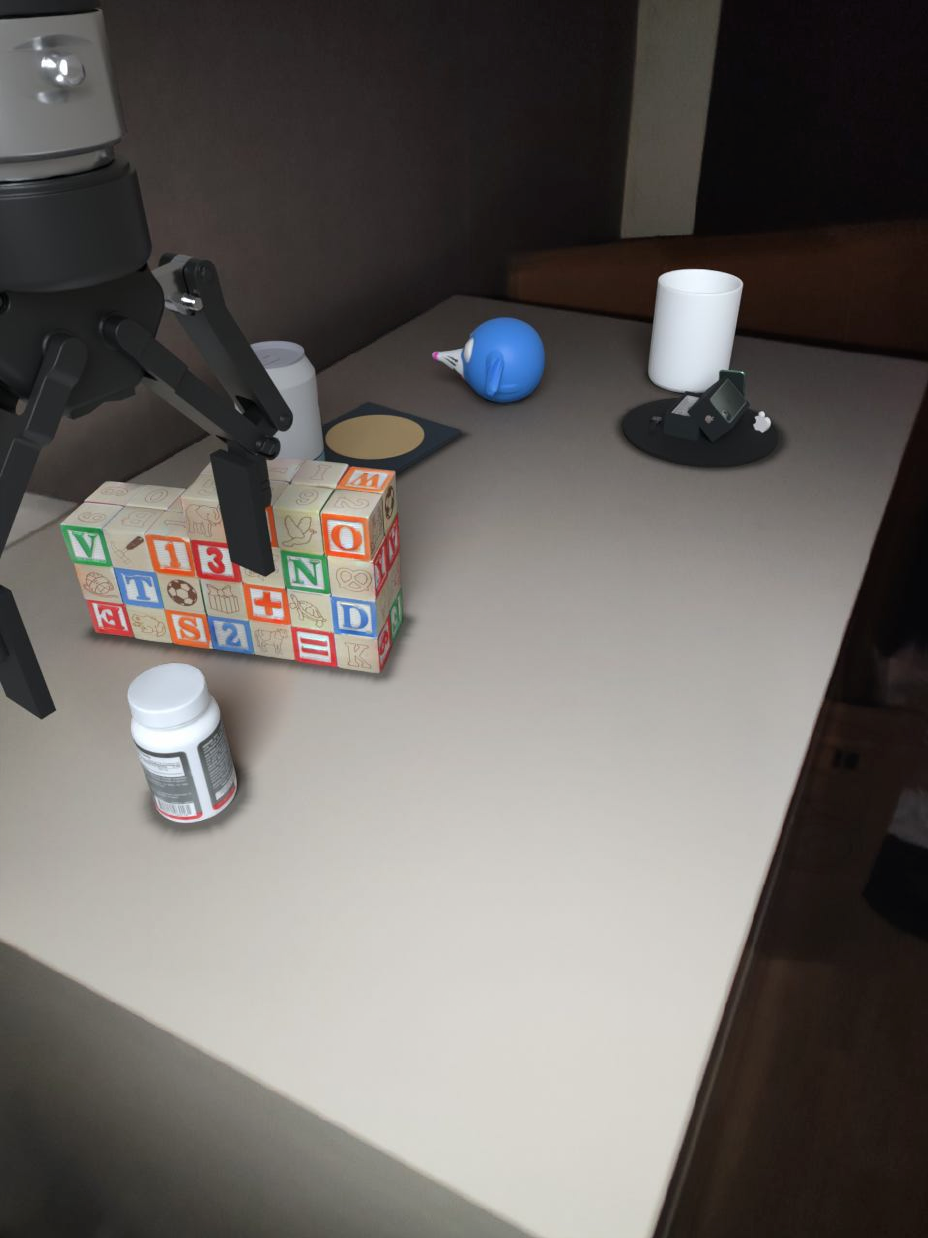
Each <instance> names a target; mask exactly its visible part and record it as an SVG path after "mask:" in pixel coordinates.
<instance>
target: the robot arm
mask: <svg viewBox="0 0 928 1238" xmlns="http://www.w3.org/2000/svg"><path fill="white" fill-rule="evenodd" d="M101 7H102V4H101V0H0V559H2V555H3V552H4V550H5V547H6V544H7V541H8V540H9V536H10V533H11V530H12V528H13V525H14V523H15V520H16V517H17V515H18V512H19V510H20V507H21V504H22V501H23V498H24V496H25V493H26V490H27V488H28V485H29V483H30V480H31V477H32V474H33V472H34V469H35V466H36V463H37V461H38V458H39V455H40V453H41V451H42V450H43V448H44V447H46V446H47V447H48V445H50V444H51V443H52V442H53V441H54V438H55V436H56V434H57V431H58V428H59V426H60V423H61V420H62V418H64V417H65V418H68V419H70V420H72V421H73V420H77V419H79V418H82V417H84V416H86V415H89V414H91V413H92V412H93V411H95V410H96V409H97V408H98V407H100V406H101V405H102V404H104V403H107V402H108V403H109V402H119V401H123V400H126V399H129V398H131V397H133V396H136V395H137V394H136V393H137V392H136V388H137V387H138V386H139V385H140V383H141V384H142V385H143V386H145V387H146V388H148V389H149V390H150V391H152V392H153V393H155V394H156V395H157V396H158V397H160V398H161V399H163V401H165V402H167V404H169V405H170V406H171V407H173V408H174V409H176V410H177V411H178V412H180V413H181V414H183V415H184V416H185V417H186V418H187V419H189V420H191V421H192V422H193V423H194V424H196V425H197V426H198V427H199V428H201V429H202V430H204V431H205V432H207V433H208V434H209V435H210V436H212V437H213V438H214V439H216V440H217V441H219V442H220V443H221V444H223V445H224V446H226V447H227V450H225V449H222V448H218V449H216V450H215V451H213V452H210V453H209V454H208V456H209V460H210V462H211V466H212V471H213V476H214V481H215V486H216V491H217V496H218V501H219V506H220V511H221V516H222V521H223V526H224V531H225V536H226V541H227V546H228V551H229V556H230V561H231V562H233V563H235V564H237V565H239V566H241V567H244V568H246V569H248V570H250V571H253V572H255V573H257V574H259V575H262V576H264V577H266V576H268V575H270V574H271V573H273V572H274V571H275V565H274V559H273V553H272V547H271V541H270V535H269V529H268V523H267V517H266V511H265V508H267V507H269V506H271V499H272V493H271V487H270V480H269V474H268V468H267V461H266V459H267V460H274V459H275V458H276V457H277V456H278V455H279V452H280V449H281V444H280V441H279V439H278V438H276V437H273V436H274V435H275V434H276V433H277V432H278V431H282V432H285V431H287V430H288V429H290V427H291V425H292V423H293V414H292V411H291V410H290V408H289V407H288V405H287V403H286V402H285V400H284V399H283V397H282V395H281V394H280V392H279V391H278V389H277V387H276V386H275V384H274V383H273V381H272V379H271V378H270V376H269V375H268V373H267V371H266V370H265V368H264V367H263V365H262V363H261V362H260V360H259V359H258V357H257V355H256V354H255V352H254V351H253V349H252V347H251V346H250V345H251V343H249V341H248V339H247V338H246V336H245V334H244V333H243V331H242V330H241V328H240V327H239V325H238V323H237V322H236V320H235V318H234V317H233V315H232V314H231V312H230V311H229V308H228V307H227V305H226V301H225V298H224V294H223V290H222V286H221V283H220V282H221V281H220V279H219V274H218V271H217V267H216V266H215V264H214V262H212V261H211V260H209V259H205V258H199V257H195V256H191V255H186V254H182V253H177V252H173V251H166V252H164V253H162V254H161V256H160V258H159V261H158V264H157V265H158V267H156V268H154V269H152V270H151V269H150V266H149V264H148V261H149V260H150V258H151V255H152V251H153V244H152V239H151V234H150V230H149V224H148V220H147V215H146V210H145V205H144V200H143V196H142V190H141V186H140V182H139V177H138V171H137V167H136V165H135V164H134V163H132V162H130V161H129V158H128V157H127V156H126V155H124V154H122V153H119V152H116V151H115V149H114V146H116V145H118V144H120V143H121V142H122V141H123V139H124V138H125V136H126V135H127V134H128V127H127V122H126V119H125V113H124V109H123V103H122V99H121V94H120V90H119V89H120V88H119V85H118V80H117V76H116V70H115V66H114V60H113V56H112V51H111V47H110V41H109V37H108V32H107V27H106V22H105V18H104V13H103V10H102V9H101ZM165 309H166V310H167V311H169V312H172V313H173V315H174V316H175V319H176V320H177V322H178V324H179V325H180V327H181V329H183V331H184V332H185V333H186V335H187V337H188V338H189V339H190V341H191V342H192V344H193V345H194V347H195V348H196V350H197V351H198V352H199V354H200V355H201V357H202V358H203V360H204V361H205V363H206V364H207V365H208V367H209V368H210V370H211V371H212V373H213V374H214V375H215V377H216V378H217V380H218V381H219V382H220V384H221V385H222V387H223V388H224V390H225V392H226V393H227V394H228V396H229V397H230V399H231V400H232V401H233V404H234V403H235V404H236V406H237V407H238V408H239V410H240V411H241V413H242V414H241V413H240V412H239V411H238V410H236V409H235V406H233V405H232V404H230V403H229V402H228V401H227V400H226V399H225V398H223V397H222V396H221V395H220V394H218V393H217V392H216V391H214V389H212V388H211V387H210V386H209V385H207V384H206V383H205V382H203V380H201V379H200V378H199V377H197V376H196V375H195V374H194V373H193V372H191V371H190V370H189V366H188V365H187V364H186V363H185V361H182V360H181V358H179V357H178V356H177V355H175V354H174V353H173V352H172V351H170V350H169V348H167V347H165V346H164V345H163V344H162V343H161V342H160V341H159V340H157V338H156V337H157V336H158V335H157V334H158V332H159V328H160V325H161V321H162V318H163V315H164V311H165ZM19 400H20V401H22V402H23V403H24V404H26V406H25V409H24V411H23V412H22V413H21V414H18V413H17V406H18V403H19ZM235 404H234V405H235ZM33 647H34V646H33V645H32V642H31V639H30V636H29V634H28V631H27V629H26V626H25V624H24V621H23V618H22V616H21V613H20V610H19V607H18V605H17V603H16V599H15V597H14V595H13V591H12V590H11V589H9V588H8V587H6V586H4V585H2V584H0V684H1V688H2V689H3V692H4V694H5V697H6V698H7V699H9V700H11V701H12V702H13V703H15V704H17V705H19V706H20V707H21V708H23V709H24V710H25V711H27V712H28V713H31V714H32V715H33V716H35V717H36V718H38V719H39V720H44V719H46V718H48V717H49V716H50V715H52V714H54V713H55V712H56V711H57V707H56V706H55V702H54V700H53V697H52V695H51V692H50V690H49V687H48V684H47V682H46V679H45V677H44V673H43V671H42V669H41V665H40V663H39V661H38V658H37V655H36V653H35V650H34V648H33Z"/></svg>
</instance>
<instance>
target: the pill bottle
mask: <svg viewBox="0 0 928 1238" xmlns="http://www.w3.org/2000/svg"><path fill="white" fill-rule="evenodd" d="M126 698H127V701H128V705H129V710H130V714H131V716H132V717H131V720H130V732H131V736H132V741H133V743H134V746H135V749H136V752H137V755H138V759H139V762H140V764H141V768H142V771H143V774H144V777H145V779H146V780H145V781H146V783H147V785H148V788H149V792H150V795H151V797H152V801H153V803H154V806H155V808H156V810H157V811H158V812H159V814H160V815H161V816H163V817H164V818H166V819H168V820H170V821H172V822H175V823H179V824H180V823H182V824H189V823H190V824H191V823H196V822H201V821H205V820H208V819H211V818H213V817H215V816H217V815H218V814H219V813H221V812H222V811H224V810H225V809H226V808H227V807H228V806H229V805H230V803H231V802H232V801H233V799H234V797H235V795H236V793H237V787H238V780H237V775H236V770H235V766H234V762H233V757H232V754H231V749H230V745H229V742H228V741H229V740H228V738H227V734H226V729H225V725H224V721H223V717H222V712H221V710H220V706H219V704H218V702H217V700H216V699H215V698H214V697H213V695H211V694H210V692H209V688H208V685H207V681H206V678H205V675H204V674H203V672H202V671H201V670H200V669H199V668H198V667H195V666H194V665H191V664H188V663H183V662H168V663H163V664H159V665H155V666H152V667H150V668H148V669H146V670H144V671H143V672H140V674H138V675H137V676H136V677H135V678H134V679H133V680H132V681H131V683H130V684H129V686H128V689H127V692H126Z"/></svg>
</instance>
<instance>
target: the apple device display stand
mask: <svg viewBox="0 0 928 1238" xmlns="http://www.w3.org/2000/svg"><path fill="white" fill-rule="evenodd" d="M745 395H746V373H745V371H742V370H735V369H729V370H720V371H719V380H718V381H717V382H716V383H714V384H713V385H712V386H711V387H709V388H708V389H707V390H706V391H705V392H704V393H694V392H689V391H685V392H684V393H681V395H680V396H679V397H671V398H664V399H663V398H662V399H658V400H654V401H650V402H646V403H643V404H641V405H638V406H636V407H635V408H633V409H631V410H630V411H629V412H628V413H626V415H625V417H624V419H623V422H622V433H623V435H624V437H625V438H626V440H627V441H628V442H629V443H630V444H631V445H632V446H633V447H635V448H636V449H637V450H639V451H641V452H643V453H645V454H647V455H648V456H649V455H650V456H652V457H654V458H657V459H659V460H663V461H665V462H670V463H673V464H677V465H678V464H679V465H684V466H691V467H702V468H729V467H737V466H743V465H747V464H752V463H754V462H758V461H760V460H762V459H764V458H766V457H767V456H769V455H770V454H772V453H773V452H774V451H775V449H776V448H777V446H778V442H779V431H778V430H777V428H776V427H775V425H774V424H773V422H772V421H771V418H769V417H768V416H766V414H765V412H764V411H763V410H761V411H759V412H756V411H755V410H752V409H750V408H749V407H750V406H751V403H750V402H749V400H747V398H746V397H745Z"/></svg>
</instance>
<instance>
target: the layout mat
mask: <svg viewBox="0 0 928 1238" xmlns="http://www.w3.org/2000/svg"><path fill="white" fill-rule="evenodd" d="M321 428H322V437H323V446H324V454H325V462H334V463H344V464H348V465H349V467H361V468H370V469H380V470H390V471H395V473H396V476H397V475H400V473H402V472H404V471H405V470H407V469H408V468H410V467H412V466H414V465H415V464H417V463H418V462H420V461H422V460H423V459H424V458H426V457H428V456H430V455H431V454H433V453H435V452H436V451H438V450H439V449H441V448H442V447H444V446H445V445H447V444H449V443H450V442H452V441H454V440H456V439H457V438H458V437H460V436H461V435H462V430H461V429H459V428H456V427H452V426H449V425H446V424H443V423H439V422H436V421H433V420H430V419H426V418H423V417H419V416H417V415H413V414H410V413H407V412H403V411H400V410H397V409H394V408H390V407H387V406H385V405H381V404H377V403H373V402H370V401H367V402H365V403H362V404H361V405H359V406H357V407H355V408H354V409H353V408H352V409H351V410H350V411H347V412H346V413H344V414H342V415H340V416H338V417H336V418H334V419H332V420H330V421H328V422H327V423H325V424H322V425H321Z"/></svg>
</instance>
